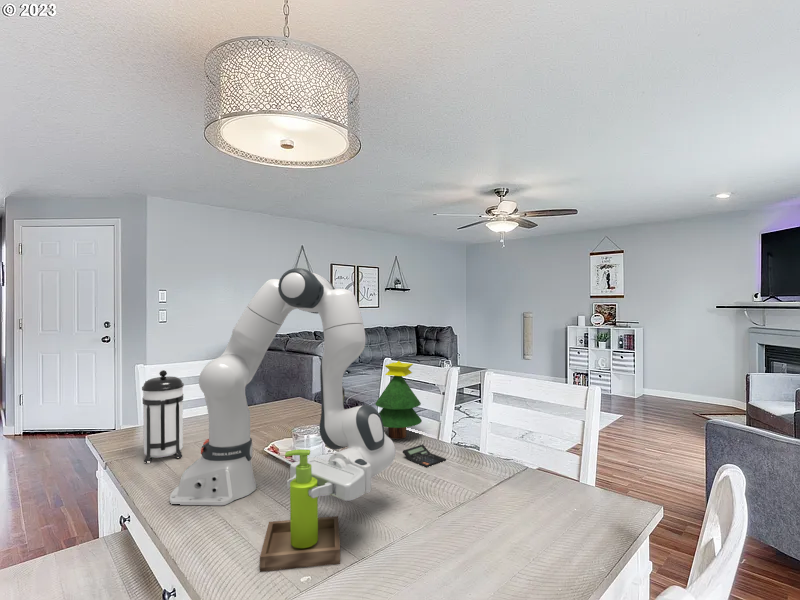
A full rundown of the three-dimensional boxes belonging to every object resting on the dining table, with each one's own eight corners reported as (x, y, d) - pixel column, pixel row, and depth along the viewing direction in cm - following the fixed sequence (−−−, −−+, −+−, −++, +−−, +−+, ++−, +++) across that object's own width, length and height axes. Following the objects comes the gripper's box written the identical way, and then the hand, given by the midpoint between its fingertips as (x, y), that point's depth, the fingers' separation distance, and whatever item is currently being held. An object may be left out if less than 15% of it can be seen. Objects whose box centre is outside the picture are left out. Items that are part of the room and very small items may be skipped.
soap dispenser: (288, 534, 99) (287, 446, 99) (319, 532, 100) (318, 445, 100) (283, 549, 93) (282, 456, 93) (316, 547, 94) (315, 455, 94)
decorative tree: (365, 440, 168) (364, 362, 168) (385, 426, 186) (384, 356, 186) (412, 446, 161) (411, 365, 161) (428, 431, 179) (427, 358, 179)
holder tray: (259, 571, 88) (259, 557, 88) (269, 534, 102) (268, 521, 102) (340, 563, 91) (340, 549, 91) (338, 528, 104) (338, 515, 104)
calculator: (426, 468, 141) (426, 459, 141) (402, 458, 150) (402, 450, 150) (446, 461, 148) (446, 452, 148) (422, 452, 156) (422, 444, 156)
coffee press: (125, 462, 147) (124, 373, 147) (166, 446, 162) (166, 365, 162) (162, 469, 141) (162, 376, 140) (202, 453, 155) (201, 368, 155)
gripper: (316, 447, 113) (270, 463, 102) (375, 466, 100) (330, 487, 89) (316, 471, 113) (270, 490, 102) (376, 493, 100) (331, 518, 89)
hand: (299, 489), depth 95 cm, fingers closed on soap dispenser, 6 cm apart
